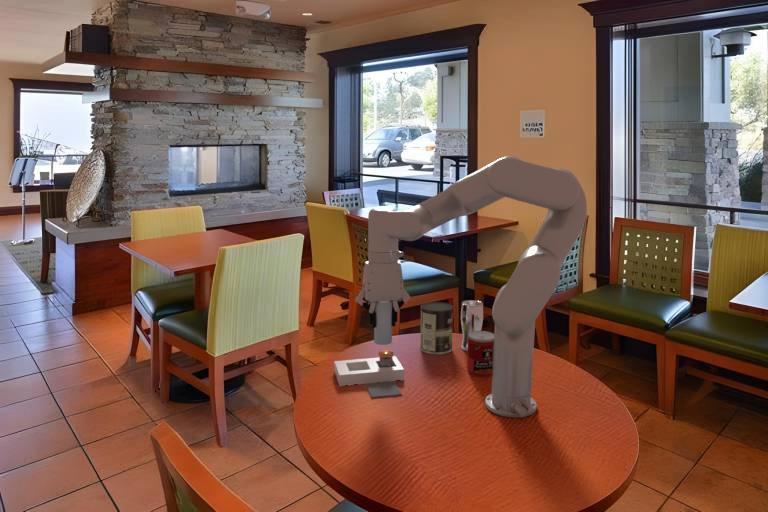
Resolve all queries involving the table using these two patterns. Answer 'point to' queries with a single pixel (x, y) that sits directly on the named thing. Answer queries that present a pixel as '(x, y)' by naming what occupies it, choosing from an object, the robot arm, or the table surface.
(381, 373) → the housing
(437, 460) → the table surface
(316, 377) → the table surface
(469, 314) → the beer glass
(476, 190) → the robot arm
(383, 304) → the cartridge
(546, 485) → the table surface
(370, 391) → the mat
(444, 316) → the coffee can
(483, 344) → the canned food
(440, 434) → the table surface
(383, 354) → the plunger
